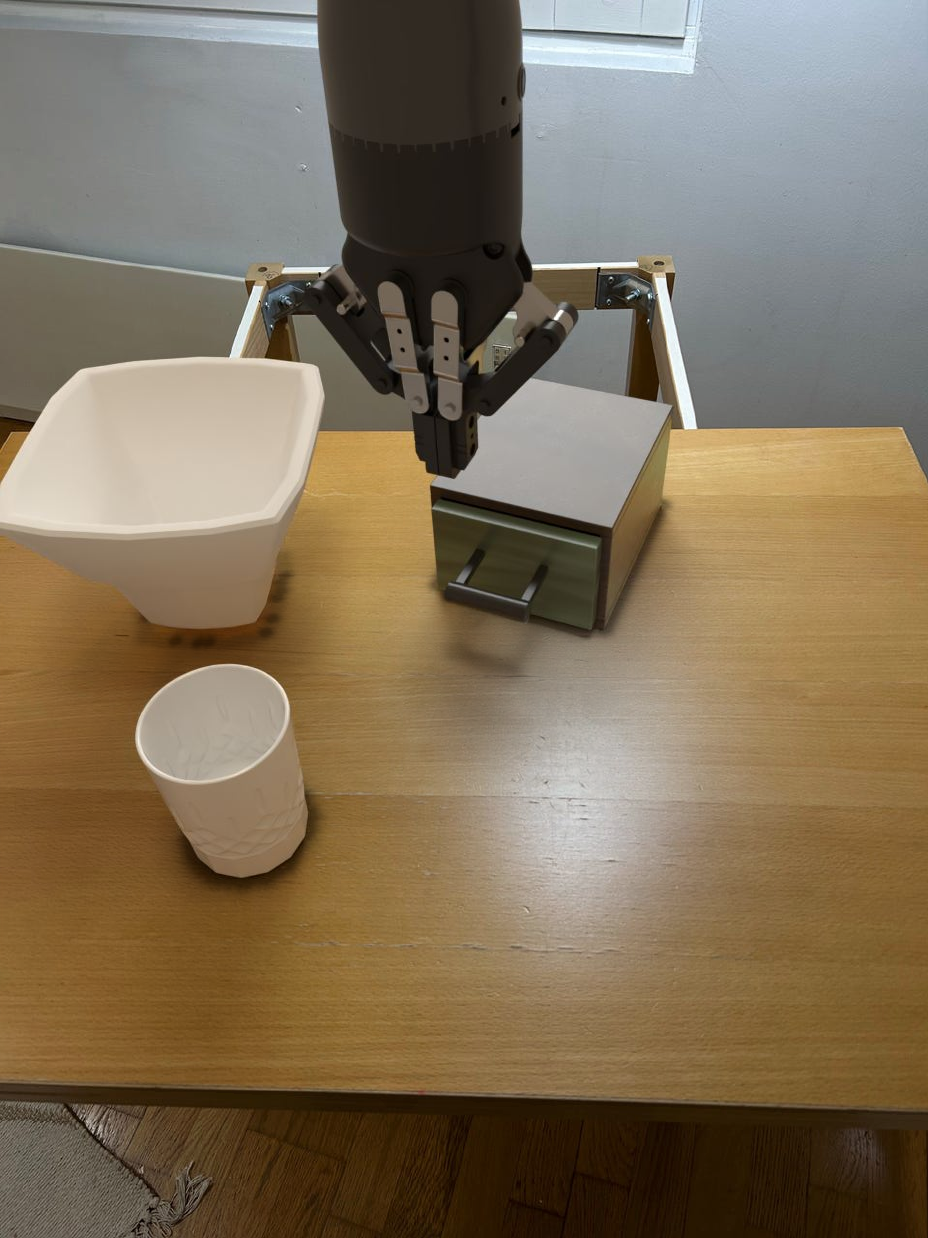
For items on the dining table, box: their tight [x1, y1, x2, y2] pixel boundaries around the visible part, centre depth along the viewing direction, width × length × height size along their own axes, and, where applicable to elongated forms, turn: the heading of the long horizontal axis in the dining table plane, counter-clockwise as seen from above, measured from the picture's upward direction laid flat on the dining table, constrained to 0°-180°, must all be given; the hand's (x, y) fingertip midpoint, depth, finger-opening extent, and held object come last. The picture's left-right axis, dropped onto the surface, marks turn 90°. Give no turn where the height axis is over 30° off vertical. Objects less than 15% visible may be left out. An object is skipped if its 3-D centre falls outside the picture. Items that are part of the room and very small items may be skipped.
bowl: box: [0, 356, 326, 630], centre depth 67 cm, size 19×19×14 cm
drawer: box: [430, 499, 602, 631], centre depth 68 cm, size 18×11×7 cm, turn 157°
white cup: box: [134, 663, 309, 879], centre depth 54 cm, size 8×8×10 cm
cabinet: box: [429, 377, 675, 631], centre depth 71 cm, size 15×13×9 cm
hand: (448, 467), depth 50 cm, fingers closed
